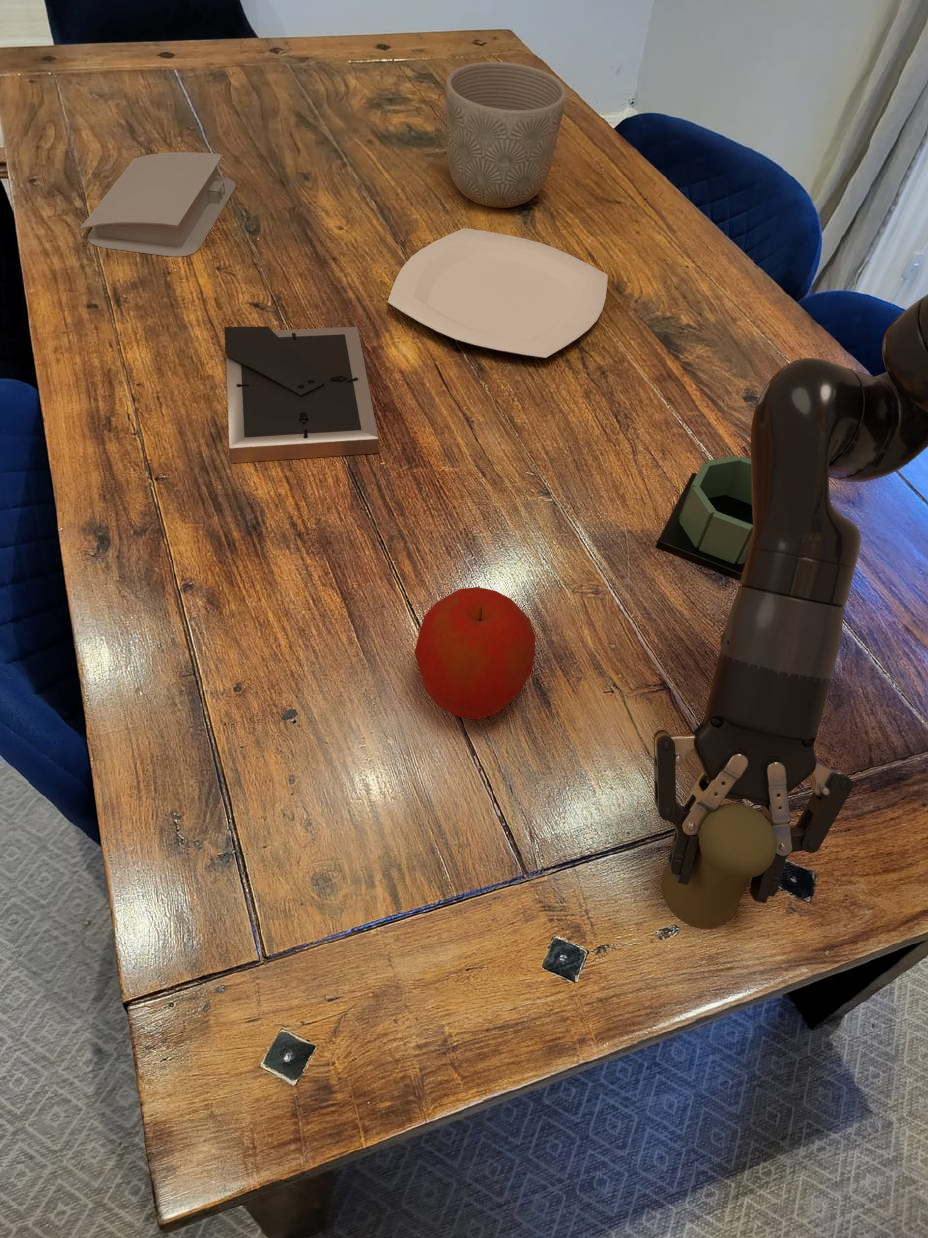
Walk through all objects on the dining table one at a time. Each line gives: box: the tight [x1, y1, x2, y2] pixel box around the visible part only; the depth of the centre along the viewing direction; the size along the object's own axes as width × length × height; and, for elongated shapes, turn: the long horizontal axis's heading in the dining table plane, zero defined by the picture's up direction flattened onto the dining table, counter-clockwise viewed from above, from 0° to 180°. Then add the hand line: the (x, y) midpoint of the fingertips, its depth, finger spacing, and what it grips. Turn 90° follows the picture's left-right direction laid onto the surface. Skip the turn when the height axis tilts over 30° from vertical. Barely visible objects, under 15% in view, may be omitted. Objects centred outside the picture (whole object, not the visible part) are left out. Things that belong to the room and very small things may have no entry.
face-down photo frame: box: [224, 325, 380, 464], centre depth 100 cm, size 16×3×21 cm
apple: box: [413, 586, 536, 720], centre depth 73 cm, size 10×10×12 cm
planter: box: [445, 61, 568, 209], centre depth 128 cm, size 17×17×15 cm
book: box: [79, 151, 236, 258], centre depth 122 cm, size 15×23×4 cm, turn 173°
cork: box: [660, 802, 777, 930], centre depth 64 cm, size 6×6×11 cm
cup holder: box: [655, 454, 753, 582], centre depth 90 cm, size 12×12×6 cm
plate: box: [387, 227, 609, 360], centre depth 115 cm, size 27×27×2 cm
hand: (719, 888), depth 63 cm, fingers closed on cork, 5 cm apart
